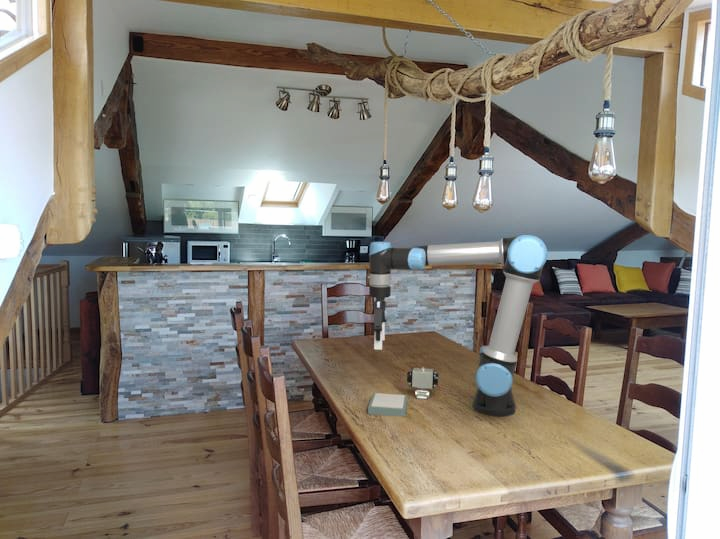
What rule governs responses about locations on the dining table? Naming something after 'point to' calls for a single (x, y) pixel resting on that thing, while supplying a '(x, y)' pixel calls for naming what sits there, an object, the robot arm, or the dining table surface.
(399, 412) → the stand
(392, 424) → the dining table surface
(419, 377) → the pneumatic valve
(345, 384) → the dining table surface
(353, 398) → the dining table surface
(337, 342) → the dining table surface
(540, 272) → the robot arm
